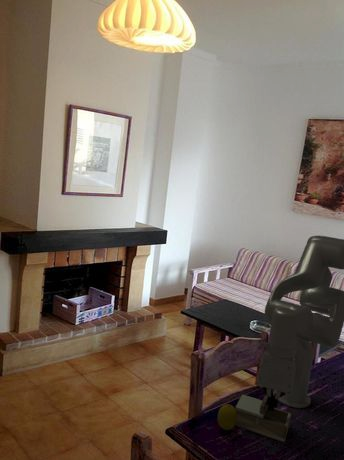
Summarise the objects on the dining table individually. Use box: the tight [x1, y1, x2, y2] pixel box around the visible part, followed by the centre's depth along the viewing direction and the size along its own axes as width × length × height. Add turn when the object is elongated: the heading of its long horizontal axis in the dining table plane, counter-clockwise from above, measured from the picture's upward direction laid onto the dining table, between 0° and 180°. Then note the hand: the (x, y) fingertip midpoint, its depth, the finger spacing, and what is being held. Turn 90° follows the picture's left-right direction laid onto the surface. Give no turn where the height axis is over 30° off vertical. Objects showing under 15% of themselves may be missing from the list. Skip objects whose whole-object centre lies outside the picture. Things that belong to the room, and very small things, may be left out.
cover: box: [234, 394, 268, 419], centre depth 126 cm, size 9×8×3 cm
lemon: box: [217, 403, 237, 431], centre depth 121 cm, size 6×6×8 cm
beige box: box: [234, 396, 292, 443], centre depth 126 cm, size 9×16×4 cm, turn 67°
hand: (271, 408), depth 124 cm, fingers closed
